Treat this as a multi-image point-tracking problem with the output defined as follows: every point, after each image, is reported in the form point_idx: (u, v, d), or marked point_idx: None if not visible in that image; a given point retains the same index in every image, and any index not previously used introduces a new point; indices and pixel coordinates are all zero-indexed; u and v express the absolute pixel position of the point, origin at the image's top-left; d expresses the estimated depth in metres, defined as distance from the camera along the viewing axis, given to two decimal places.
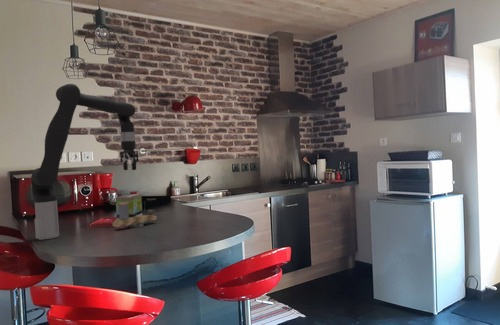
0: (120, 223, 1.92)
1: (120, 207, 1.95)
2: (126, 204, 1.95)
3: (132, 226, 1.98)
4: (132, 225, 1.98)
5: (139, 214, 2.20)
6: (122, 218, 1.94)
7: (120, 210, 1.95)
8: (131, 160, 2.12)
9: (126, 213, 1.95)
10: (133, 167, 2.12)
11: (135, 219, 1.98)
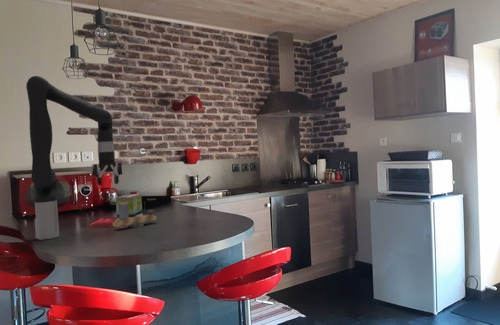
0: (120, 223, 1.92)
1: (120, 207, 1.95)
2: (126, 204, 1.95)
3: (132, 226, 1.98)
4: (132, 225, 1.98)
5: (139, 214, 2.20)
6: (122, 218, 1.94)
7: (120, 210, 1.95)
8: (116, 173, 1.93)
9: (126, 213, 1.95)
10: (117, 180, 1.94)
11: (135, 219, 1.98)
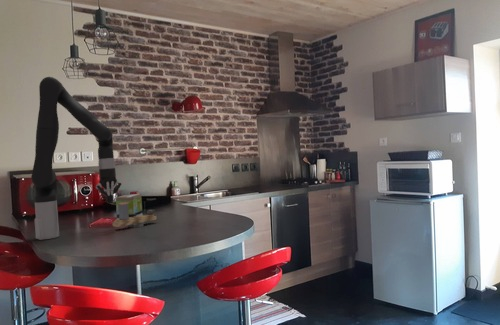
0: (120, 223, 1.92)
1: (120, 207, 1.95)
2: (126, 204, 1.95)
3: (132, 226, 1.98)
4: (132, 225, 1.98)
5: (139, 214, 2.20)
6: (122, 218, 1.94)
7: (120, 210, 1.95)
8: (111, 191, 1.91)
9: (126, 213, 1.95)
10: (112, 200, 1.91)
11: (135, 219, 1.98)
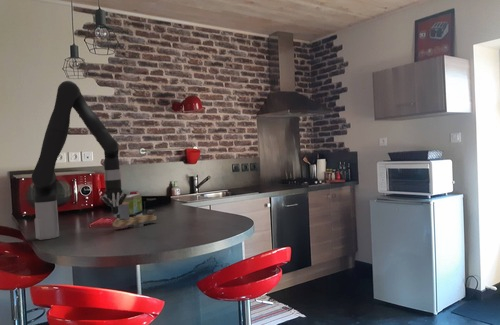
0: (120, 223, 1.92)
1: (120, 207, 1.95)
2: (127, 204, 1.95)
3: (132, 226, 1.98)
4: (132, 225, 1.98)
5: (139, 214, 2.20)
6: (123, 218, 1.94)
7: (121, 210, 1.95)
8: (117, 203, 1.92)
9: (127, 213, 1.95)
10: (117, 211, 1.93)
11: (135, 219, 1.98)
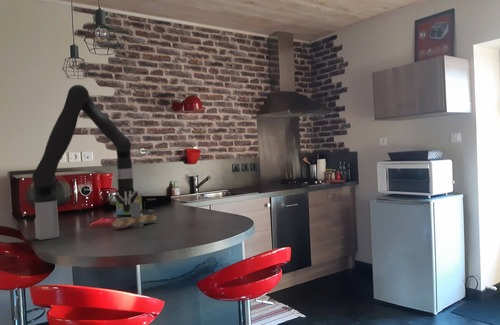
0: (120, 223, 1.92)
1: (132, 205, 2.00)
2: (138, 202, 2.00)
3: (132, 226, 1.98)
4: (132, 225, 1.98)
5: None
6: (134, 216, 1.99)
7: (132, 208, 2.00)
8: (129, 201, 1.97)
9: (138, 211, 2.00)
10: (129, 209, 1.97)
11: (135, 219, 1.98)
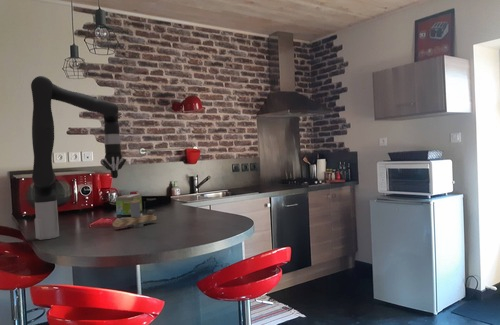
0: (120, 223, 1.92)
1: (132, 205, 2.00)
2: (138, 202, 2.00)
3: (132, 226, 1.98)
4: (132, 225, 1.98)
5: None
6: (134, 216, 1.99)
7: (132, 208, 2.00)
8: (116, 167, 1.95)
9: (138, 211, 2.00)
10: (117, 175, 1.96)
11: (135, 219, 1.98)
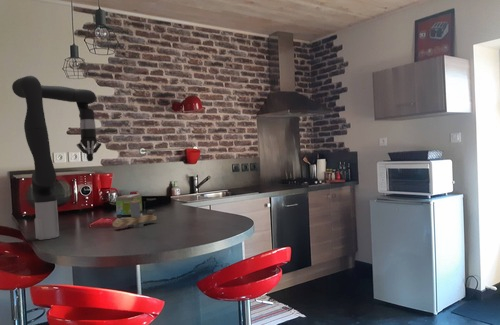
0: (120, 223, 1.92)
1: (132, 205, 2.00)
2: (138, 202, 2.00)
3: (132, 226, 1.98)
4: (132, 225, 1.98)
5: None
6: (134, 216, 1.99)
7: (132, 208, 2.00)
8: (92, 150, 2.07)
9: (138, 211, 2.00)
10: (92, 158, 2.08)
11: (135, 219, 1.98)
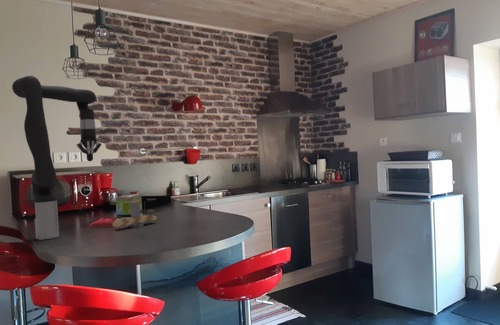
0: (120, 223, 1.92)
1: (132, 205, 2.00)
2: (138, 202, 2.00)
3: (132, 226, 1.98)
4: (132, 225, 1.98)
5: None
6: (134, 216, 1.99)
7: (132, 208, 2.00)
8: (92, 150, 2.07)
9: (138, 211, 2.00)
10: (92, 158, 2.08)
11: (135, 219, 1.98)
